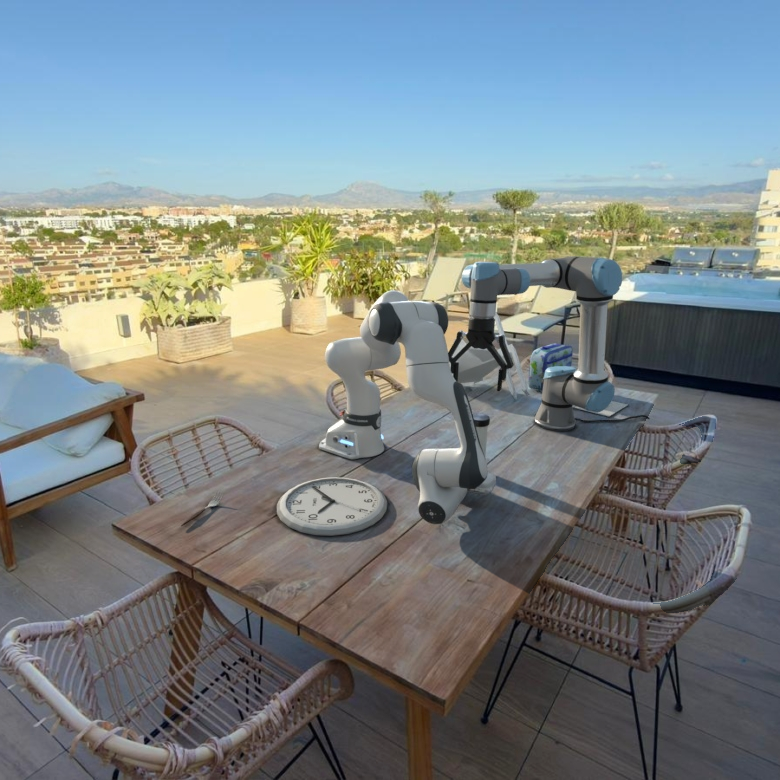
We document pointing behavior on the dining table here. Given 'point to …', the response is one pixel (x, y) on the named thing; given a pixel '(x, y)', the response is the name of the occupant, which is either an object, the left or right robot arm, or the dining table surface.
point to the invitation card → (608, 408)
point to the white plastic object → (486, 363)
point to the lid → (481, 420)
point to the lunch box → (547, 362)
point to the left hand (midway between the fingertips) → (466, 465)
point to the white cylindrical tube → (482, 437)
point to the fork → (211, 504)
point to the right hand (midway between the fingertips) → (476, 387)
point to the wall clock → (331, 506)
